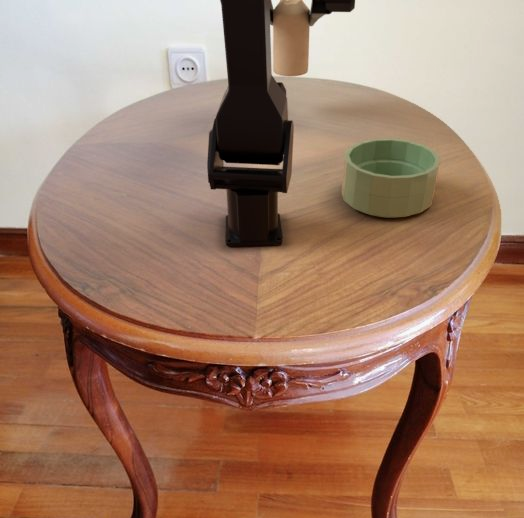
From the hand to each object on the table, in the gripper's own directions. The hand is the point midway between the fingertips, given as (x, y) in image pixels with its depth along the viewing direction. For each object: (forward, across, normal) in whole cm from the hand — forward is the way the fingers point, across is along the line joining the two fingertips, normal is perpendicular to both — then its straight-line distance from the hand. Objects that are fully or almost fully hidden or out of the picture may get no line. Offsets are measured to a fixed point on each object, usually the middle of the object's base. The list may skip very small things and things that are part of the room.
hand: (292, 22), depth 90 cm
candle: (+4, 0, +6) cm, 7 cm away
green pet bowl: (-12, -16, +30) cm, 36 cm away
